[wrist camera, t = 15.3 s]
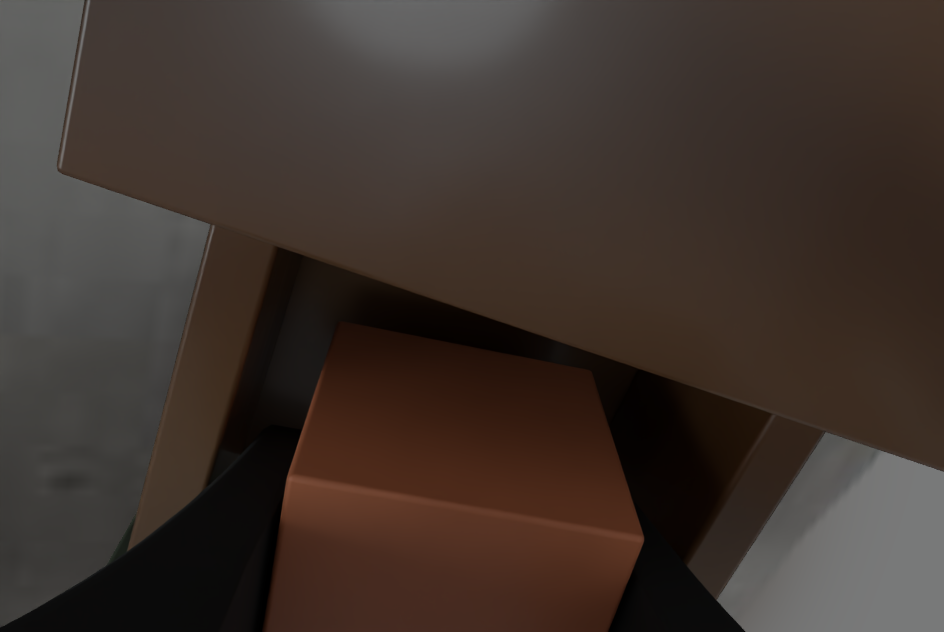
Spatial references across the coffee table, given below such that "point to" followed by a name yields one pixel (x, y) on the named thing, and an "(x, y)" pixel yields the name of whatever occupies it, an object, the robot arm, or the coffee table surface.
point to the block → (451, 495)
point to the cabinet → (573, 173)
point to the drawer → (395, 309)
